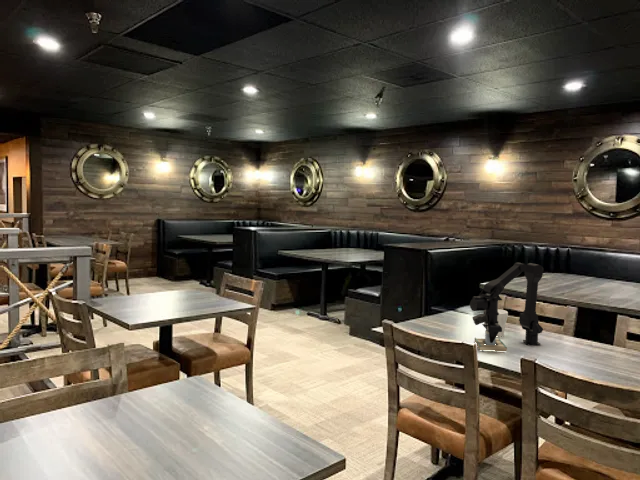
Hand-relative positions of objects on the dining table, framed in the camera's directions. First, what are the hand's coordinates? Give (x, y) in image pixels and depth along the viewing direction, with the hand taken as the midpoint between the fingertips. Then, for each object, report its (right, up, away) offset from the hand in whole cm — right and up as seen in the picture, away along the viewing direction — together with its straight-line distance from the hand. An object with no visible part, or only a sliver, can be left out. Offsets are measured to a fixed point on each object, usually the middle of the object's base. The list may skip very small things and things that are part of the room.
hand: (490, 341), depth 233 cm
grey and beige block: (0, -1, 0) cm, 1 cm away
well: (0, -3, 0) cm, 3 cm away
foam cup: (+11, -1, +20) cm, 23 cm away
